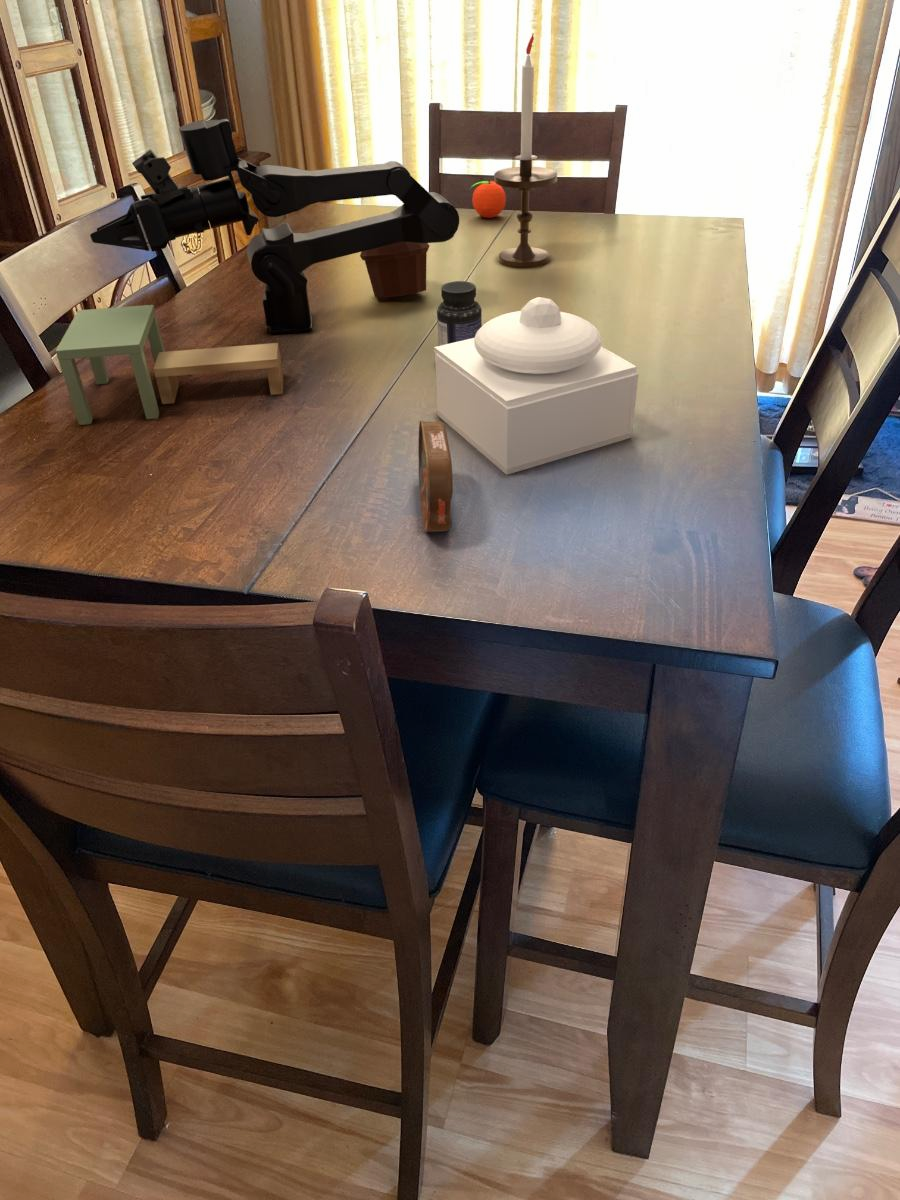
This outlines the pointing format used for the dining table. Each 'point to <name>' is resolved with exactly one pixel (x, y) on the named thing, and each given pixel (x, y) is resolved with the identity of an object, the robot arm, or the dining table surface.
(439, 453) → the tin
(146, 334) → the side table
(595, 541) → the dining table surface
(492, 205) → the clementine
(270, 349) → the bench
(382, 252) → the muffin
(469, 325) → the pill bottle
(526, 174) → the candlestick
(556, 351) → the white lidded box
